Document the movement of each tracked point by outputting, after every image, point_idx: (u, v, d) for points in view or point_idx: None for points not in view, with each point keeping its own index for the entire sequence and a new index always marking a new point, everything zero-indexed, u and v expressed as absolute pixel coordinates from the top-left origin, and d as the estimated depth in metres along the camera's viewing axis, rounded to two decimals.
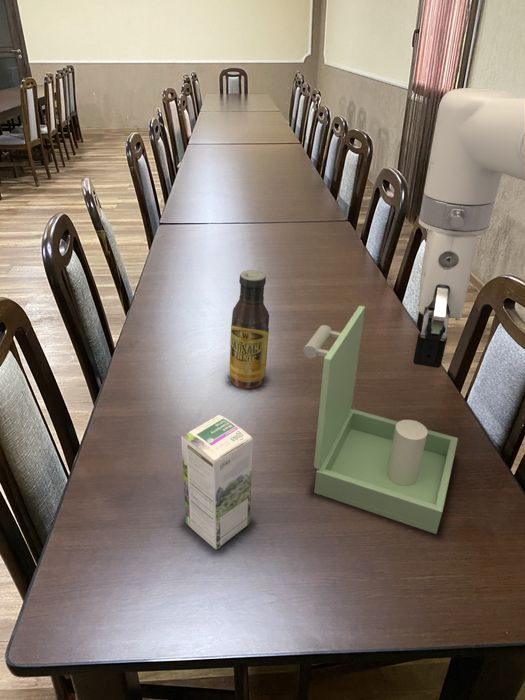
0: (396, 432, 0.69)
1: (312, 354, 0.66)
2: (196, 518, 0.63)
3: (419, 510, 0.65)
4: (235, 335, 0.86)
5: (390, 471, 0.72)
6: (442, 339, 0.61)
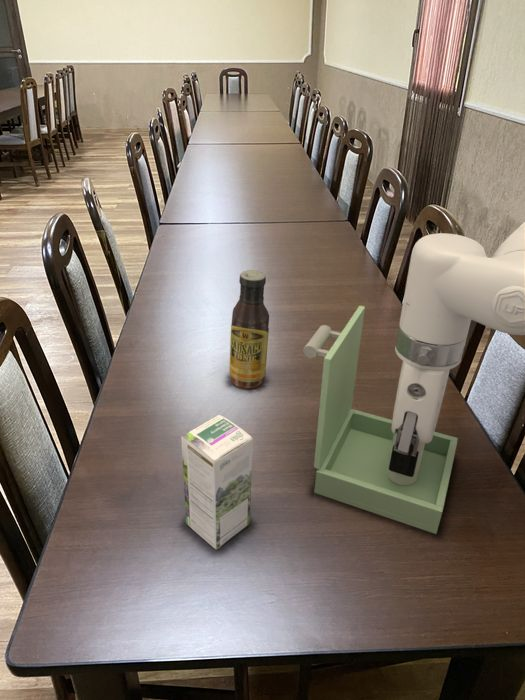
0: None
1: (312, 354, 0.66)
2: (196, 518, 0.63)
3: (419, 510, 0.65)
4: (235, 335, 0.86)
5: (390, 471, 0.72)
6: (412, 455, 0.66)
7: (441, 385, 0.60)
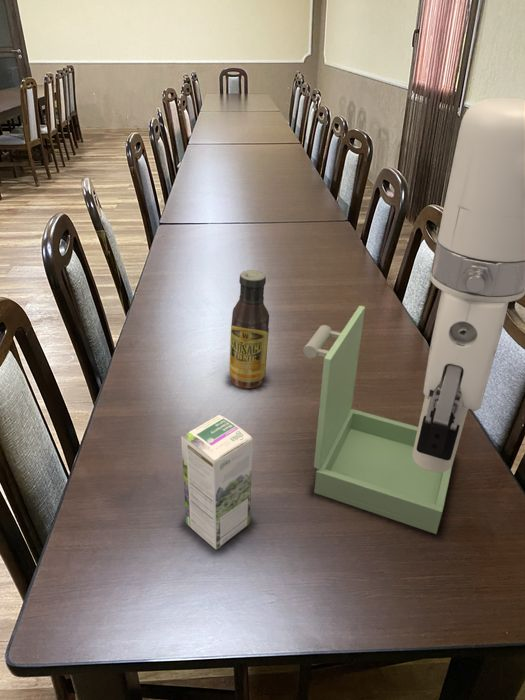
0: (427, 399, 0.50)
1: (312, 354, 0.66)
2: (196, 518, 0.63)
3: (419, 510, 0.65)
4: (235, 335, 0.86)
5: (417, 453, 0.53)
6: (451, 430, 0.48)
7: (500, 324, 0.41)
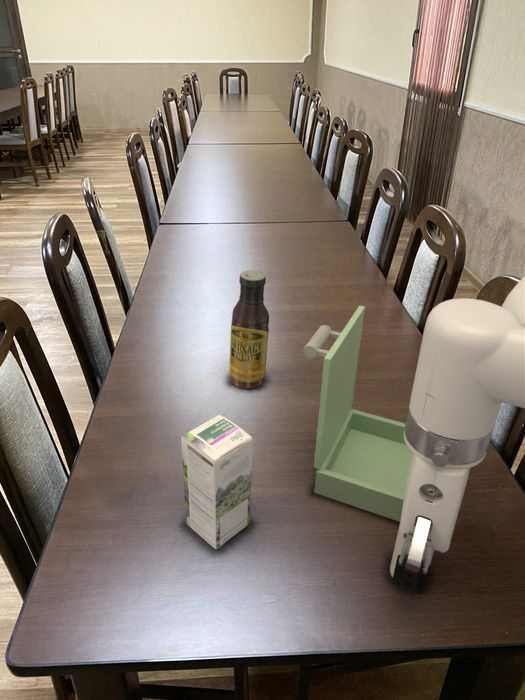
0: None
1: (312, 354, 0.66)
2: (196, 518, 0.63)
3: None
4: (235, 335, 0.86)
5: None
6: (423, 573, 0.51)
7: (462, 487, 0.47)
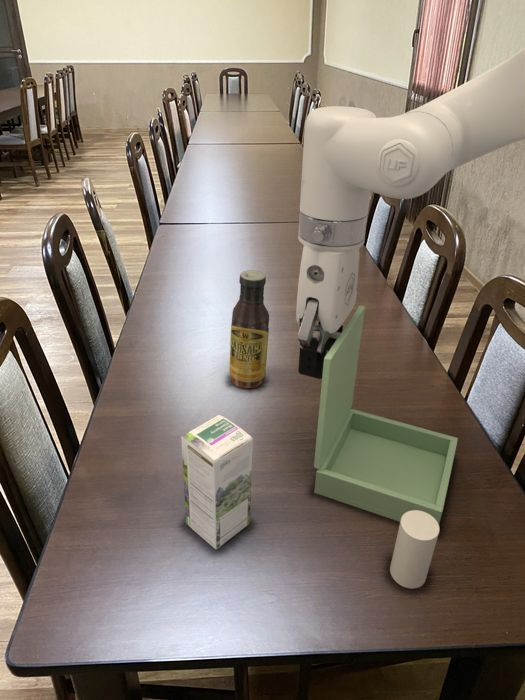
0: (401, 528, 0.57)
1: None
2: (196, 518, 0.63)
3: (419, 510, 0.65)
4: (235, 335, 0.86)
5: (394, 570, 0.60)
6: (318, 352, 0.64)
7: (340, 266, 0.58)
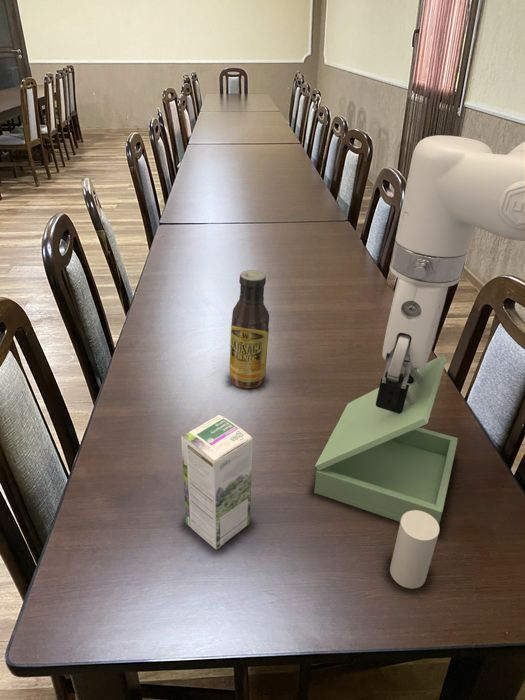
0: (401, 528, 0.57)
1: None
2: (196, 518, 0.63)
3: (419, 510, 0.65)
4: (235, 335, 0.86)
5: (394, 570, 0.60)
6: (402, 388, 0.61)
7: (438, 303, 0.55)
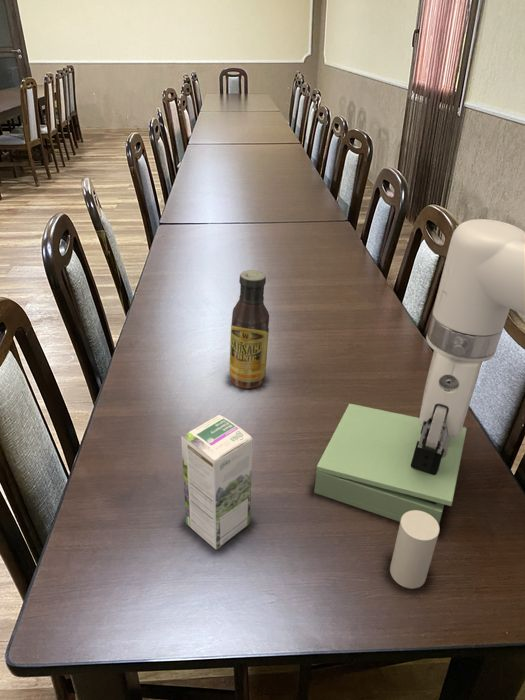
0: (401, 528, 0.57)
1: None
2: (196, 518, 0.63)
3: (419, 510, 0.65)
4: (235, 335, 0.86)
5: (394, 570, 0.60)
6: (438, 453, 0.63)
7: (475, 377, 0.58)
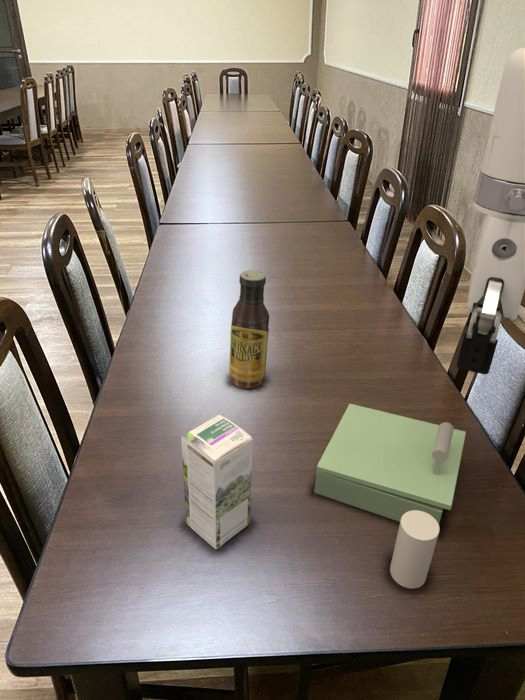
0: (401, 528, 0.57)
1: (437, 458, 0.66)
2: (196, 518, 0.63)
3: (419, 510, 0.65)
4: (235, 335, 0.86)
5: (394, 570, 0.60)
6: (491, 341, 0.53)
7: None
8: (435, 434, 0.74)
